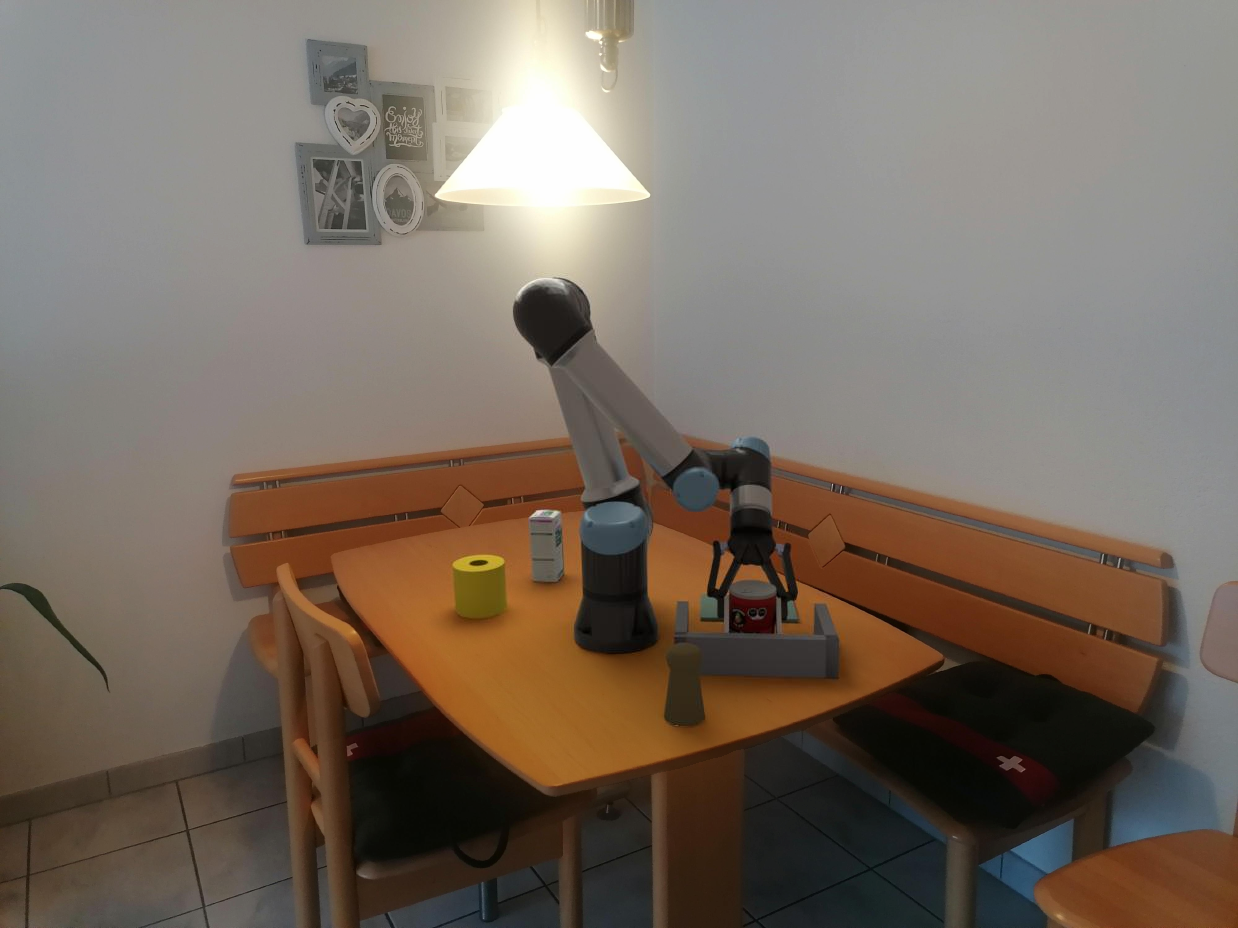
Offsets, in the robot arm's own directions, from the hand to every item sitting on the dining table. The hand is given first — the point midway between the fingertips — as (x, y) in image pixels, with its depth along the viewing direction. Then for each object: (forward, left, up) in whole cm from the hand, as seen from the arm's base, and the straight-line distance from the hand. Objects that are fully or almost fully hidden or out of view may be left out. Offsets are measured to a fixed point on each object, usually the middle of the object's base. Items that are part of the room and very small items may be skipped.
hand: (752, 636), depth 141 cm
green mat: (0, +23, -5) cm, 24 cm away
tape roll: (-52, +21, -5) cm, 56 cm away
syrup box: (-42, +39, -5) cm, 58 cm away
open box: (0, +3, -5) cm, 6 cm away
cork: (-11, -19, -5) cm, 22 cm away
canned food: (0, +3, -4) cm, 5 cm away
